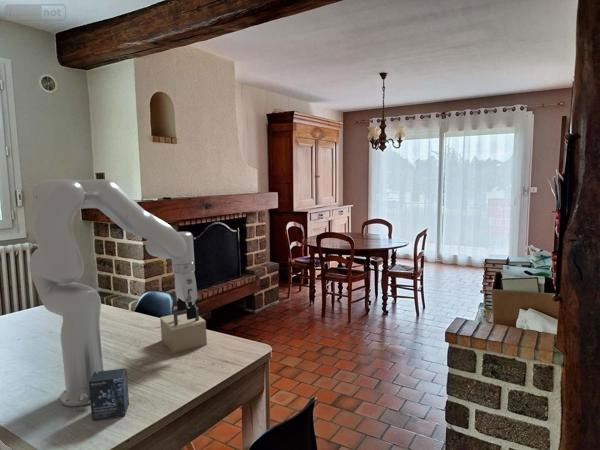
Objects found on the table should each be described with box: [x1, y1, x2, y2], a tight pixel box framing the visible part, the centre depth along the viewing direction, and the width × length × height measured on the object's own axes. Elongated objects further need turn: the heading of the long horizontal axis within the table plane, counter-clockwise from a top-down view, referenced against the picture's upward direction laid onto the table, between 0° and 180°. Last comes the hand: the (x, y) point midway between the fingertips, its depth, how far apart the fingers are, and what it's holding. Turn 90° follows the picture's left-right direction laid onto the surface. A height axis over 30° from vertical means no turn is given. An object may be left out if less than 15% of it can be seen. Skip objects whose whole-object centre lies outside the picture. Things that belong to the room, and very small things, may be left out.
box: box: [89, 367, 130, 421], centre depth 103 cm, size 8×6×11 cm
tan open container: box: [159, 319, 208, 355], centre depth 146 cm, size 14×12×8 cm
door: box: [159, 306, 207, 331], centre depth 145 cm, size 14×12×6 cm
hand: (186, 314), depth 142 cm, fingers open, 9 cm apart
